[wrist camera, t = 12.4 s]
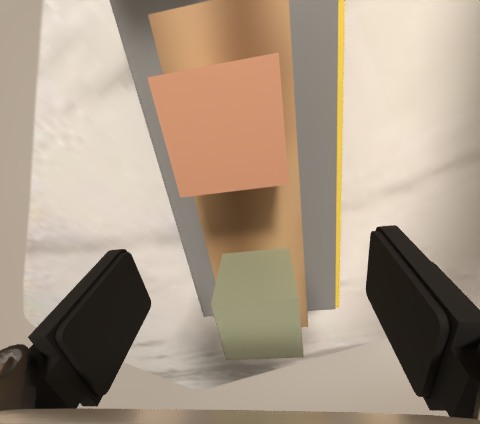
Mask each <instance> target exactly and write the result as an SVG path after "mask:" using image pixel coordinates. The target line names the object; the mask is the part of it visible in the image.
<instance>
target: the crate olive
mask: <svg viewBox="0 0 480 424" xmlns="http://www.w3.org/2000/svg"><path fill="white" fill-rule="evenodd" d="M211 306H212V310H213V313H214V317H215V321H216V324H217V328H218V331H219V335H220V338H221V342H222V346H223V349H224V353H225V356H226V360H239V359H266V358H294V357H303V347H302V334H301V322H300V309H299V298H298V292H297V287H296V282H295V277H294V272H293V266H292V261H291V256H290V251H289V248H279V249H268V250H258V251H247V252H236V253H226V254H222V258H221V262H220V267H219V271H218V275H217V280H216V284H215V288H214V293H213V297H212V301H211Z"/></svg>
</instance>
